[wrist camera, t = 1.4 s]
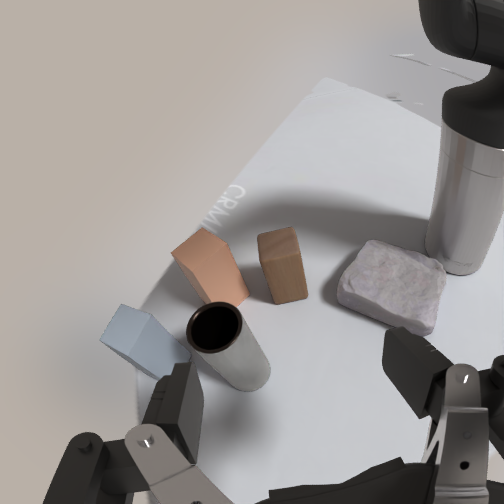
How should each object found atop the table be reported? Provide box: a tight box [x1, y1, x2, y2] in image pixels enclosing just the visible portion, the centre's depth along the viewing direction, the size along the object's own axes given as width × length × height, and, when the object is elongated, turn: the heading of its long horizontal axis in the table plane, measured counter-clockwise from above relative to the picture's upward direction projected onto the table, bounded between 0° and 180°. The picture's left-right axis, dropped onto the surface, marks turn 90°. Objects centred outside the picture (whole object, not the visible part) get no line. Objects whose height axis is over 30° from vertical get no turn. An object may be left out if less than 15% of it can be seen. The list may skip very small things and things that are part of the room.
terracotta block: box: [171, 228, 250, 307], centre depth 32 cm, size 4×4×9 cm
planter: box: [186, 301, 270, 392], centre depth 24 cm, size 4×4×10 cm
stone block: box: [337, 239, 446, 337], centre depth 28 cm, size 12×5×10 cm
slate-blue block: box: [100, 304, 192, 380], centre depth 27 cm, size 4×4×9 cm
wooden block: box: [257, 227, 308, 304], centre depth 31 cm, size 4×4×8 cm
